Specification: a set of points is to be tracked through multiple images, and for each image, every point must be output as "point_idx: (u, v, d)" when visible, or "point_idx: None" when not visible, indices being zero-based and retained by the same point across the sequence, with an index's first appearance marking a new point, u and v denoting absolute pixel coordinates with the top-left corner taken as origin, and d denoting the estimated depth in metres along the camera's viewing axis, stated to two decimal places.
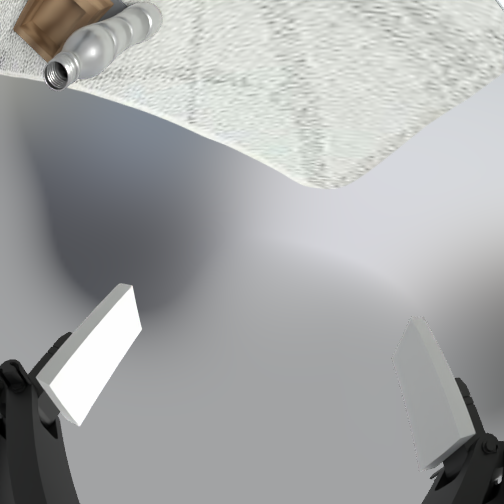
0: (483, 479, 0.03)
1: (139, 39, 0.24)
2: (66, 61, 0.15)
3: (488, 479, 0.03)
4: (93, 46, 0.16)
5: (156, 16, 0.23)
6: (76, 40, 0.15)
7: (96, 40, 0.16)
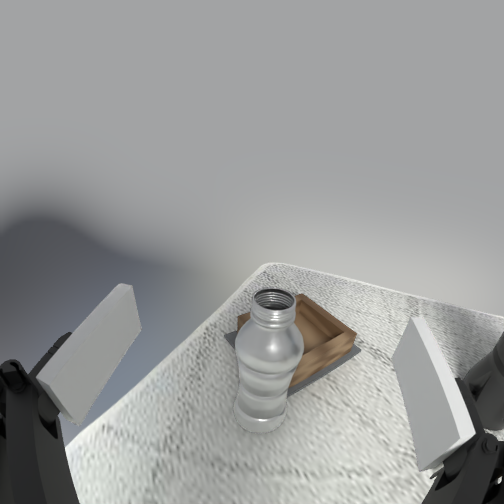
0: (483, 479, 0.03)
1: (245, 405, 0.27)
2: (286, 315, 0.22)
3: (488, 479, 0.03)
4: (282, 350, 0.22)
5: (265, 427, 0.27)
6: (296, 335, 0.23)
7: (287, 355, 0.22)
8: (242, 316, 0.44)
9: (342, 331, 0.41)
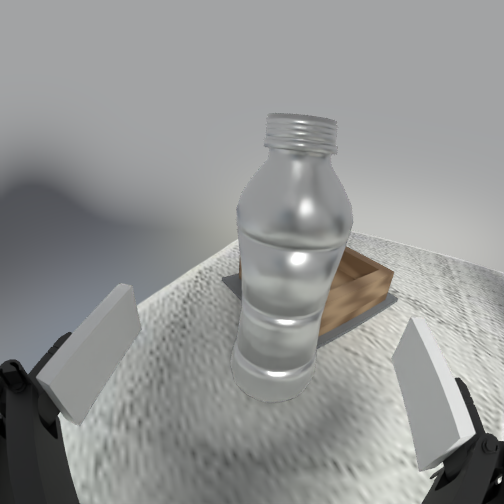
0: (483, 479, 0.03)
1: (251, 344, 0.17)
2: (325, 131, 0.12)
3: (488, 479, 0.03)
4: (323, 195, 0.12)
5: (284, 388, 0.17)
6: (341, 184, 0.14)
7: (332, 207, 0.12)
8: None
9: (376, 269, 0.32)
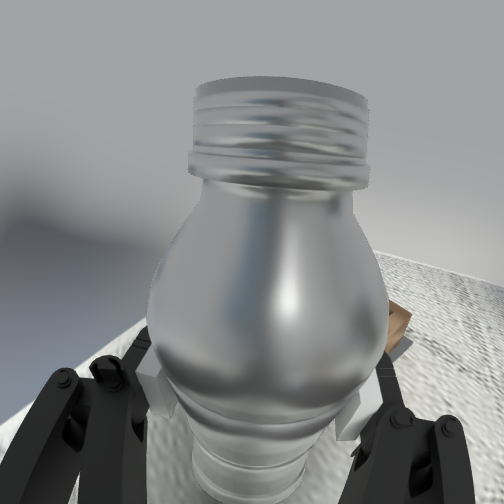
0: (402, 456, 0.05)
1: (208, 469, 0.09)
2: (344, 126, 0.04)
3: (409, 455, 0.05)
4: (333, 312, 0.04)
5: None
6: (373, 256, 0.06)
7: (352, 338, 0.05)
8: None
9: (390, 311, 0.24)
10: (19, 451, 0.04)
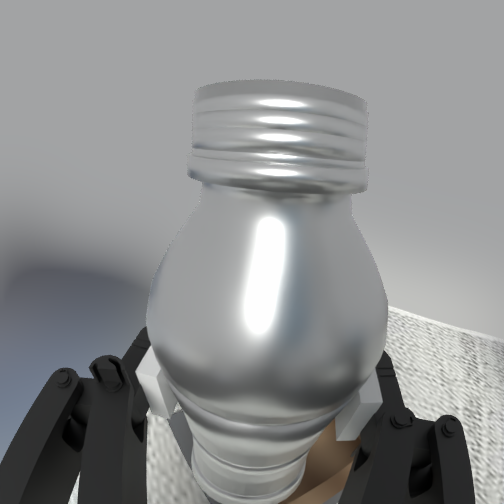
0: (402, 456, 0.05)
1: (208, 470, 0.09)
2: (342, 129, 0.04)
3: (409, 455, 0.05)
4: (331, 316, 0.04)
5: None
6: (372, 259, 0.06)
7: (351, 341, 0.05)
8: None
9: None
10: (19, 451, 0.04)
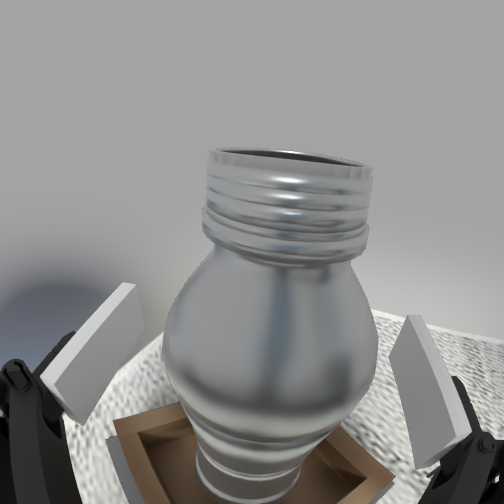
0: (480, 478, 0.03)
1: (211, 476, 0.10)
2: (348, 201, 0.05)
3: (485, 478, 0.03)
4: (326, 361, 0.05)
5: None
6: (366, 305, 0.06)
7: (342, 380, 0.05)
8: (122, 423, 0.15)
9: (362, 474, 0.12)
10: None
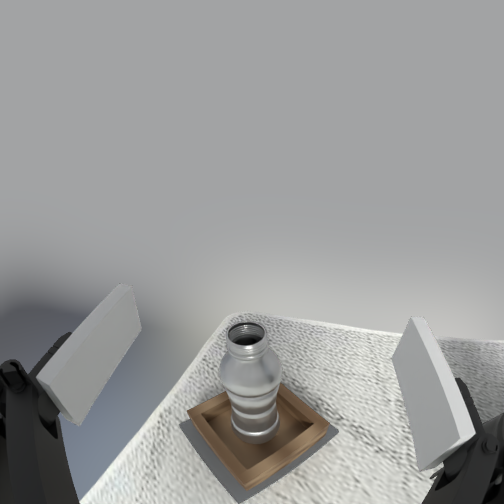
0: (483, 479, 0.03)
1: (239, 422, 0.28)
2: (258, 347, 0.23)
3: (488, 479, 0.03)
4: (260, 377, 0.24)
5: (261, 438, 0.29)
6: (272, 361, 0.25)
7: (265, 380, 0.24)
8: (191, 411, 0.33)
9: (311, 422, 0.31)
10: None
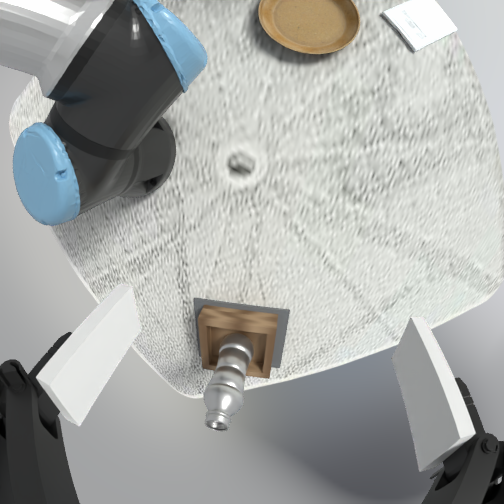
0: (483, 479, 0.03)
1: (247, 364, 0.46)
2: (216, 417, 0.34)
3: (488, 479, 0.03)
4: (224, 399, 0.36)
5: (243, 342, 0.48)
6: (211, 400, 0.36)
7: (223, 395, 0.37)
8: (266, 376, 0.52)
9: (206, 326, 0.48)
10: None
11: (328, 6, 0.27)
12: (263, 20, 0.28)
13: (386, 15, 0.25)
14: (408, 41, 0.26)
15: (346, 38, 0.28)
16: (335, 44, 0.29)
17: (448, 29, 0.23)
